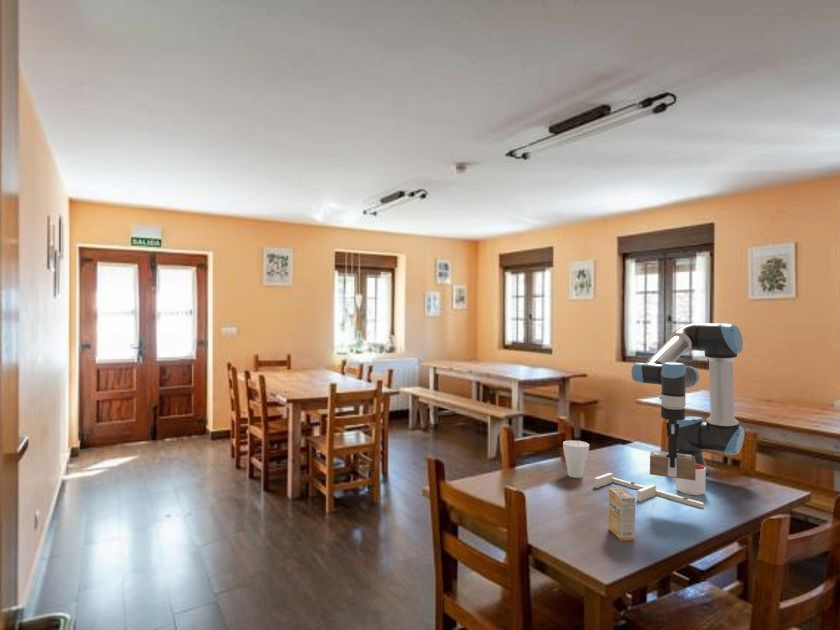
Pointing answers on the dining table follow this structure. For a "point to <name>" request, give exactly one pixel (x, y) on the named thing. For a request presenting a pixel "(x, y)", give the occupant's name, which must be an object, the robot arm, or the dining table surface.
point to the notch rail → (643, 490)
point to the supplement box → (622, 513)
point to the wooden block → (684, 465)
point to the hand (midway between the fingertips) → (672, 473)
